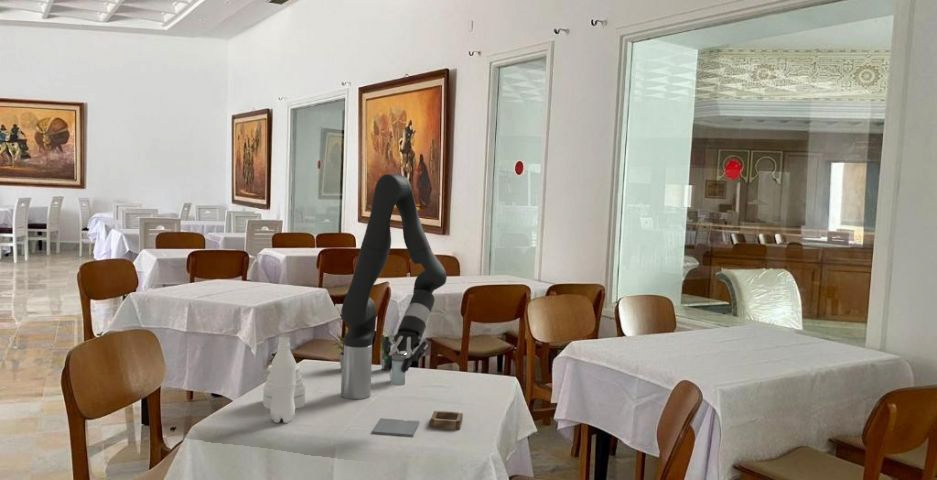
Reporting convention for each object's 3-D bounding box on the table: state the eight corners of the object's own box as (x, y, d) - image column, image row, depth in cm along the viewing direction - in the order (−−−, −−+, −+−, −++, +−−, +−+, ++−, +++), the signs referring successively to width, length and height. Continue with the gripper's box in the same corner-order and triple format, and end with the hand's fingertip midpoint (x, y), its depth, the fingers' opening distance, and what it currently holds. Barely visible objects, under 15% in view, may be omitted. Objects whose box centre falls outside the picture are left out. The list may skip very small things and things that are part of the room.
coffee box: (383, 371, 289) (384, 336, 288) (380, 369, 292) (382, 335, 290) (403, 369, 292) (404, 335, 291) (401, 367, 295) (402, 334, 294)
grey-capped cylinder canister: (389, 385, 223) (390, 356, 222) (392, 381, 227) (393, 353, 227) (403, 386, 223) (404, 357, 222) (406, 382, 227) (407, 353, 226)
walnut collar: (429, 427, 228) (430, 419, 228) (434, 418, 237) (434, 410, 236) (459, 429, 227) (459, 421, 227) (462, 420, 236) (462, 412, 236)
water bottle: (288, 425, 224) (290, 341, 222) (265, 423, 226) (267, 339, 223) (298, 418, 231) (300, 336, 229) (276, 415, 233) (278, 334, 230)
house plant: (323, 365, 293) (324, 322, 292) (358, 363, 299) (360, 321, 297) (331, 375, 280) (333, 330, 279) (368, 372, 286) (370, 329, 284)
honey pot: (255, 402, 244) (256, 346, 243) (289, 395, 254) (291, 341, 252) (278, 412, 236) (279, 354, 234) (312, 404, 245) (314, 348, 244)
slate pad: (371, 433, 221) (371, 431, 221) (380, 420, 233) (380, 418, 233) (412, 436, 220) (413, 434, 220) (419, 423, 232) (419, 421, 232)
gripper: (389, 311, 233) (369, 360, 223) (433, 317, 228) (414, 366, 218) (396, 326, 238) (377, 373, 228) (439, 331, 233) (421, 380, 223)
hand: (395, 369), depth 223 cm, fingers closed on grey-capped cylinder canister, 4 cm apart
